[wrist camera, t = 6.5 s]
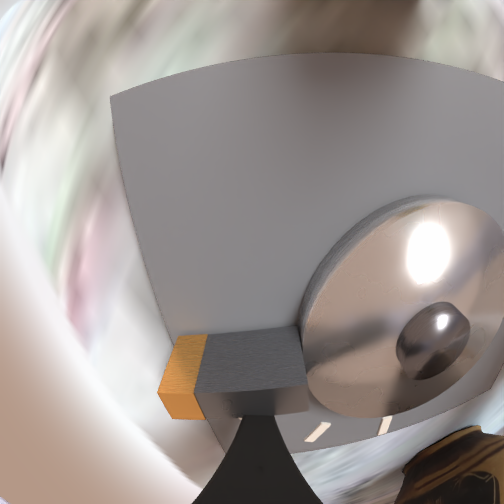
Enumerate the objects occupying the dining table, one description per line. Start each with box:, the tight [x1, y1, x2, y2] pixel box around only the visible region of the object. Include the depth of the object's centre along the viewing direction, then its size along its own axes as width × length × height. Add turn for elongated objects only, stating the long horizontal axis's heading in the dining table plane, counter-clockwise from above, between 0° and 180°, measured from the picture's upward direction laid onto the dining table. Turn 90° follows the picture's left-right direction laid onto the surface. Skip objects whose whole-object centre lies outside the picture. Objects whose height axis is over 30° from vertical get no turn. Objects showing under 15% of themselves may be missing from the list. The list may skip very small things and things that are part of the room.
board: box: [110, 53, 504, 454], centre depth 10 cm, size 20×20×1 cm
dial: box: [157, 194, 504, 420], centre depth 9 cm, size 14×10×3 cm
